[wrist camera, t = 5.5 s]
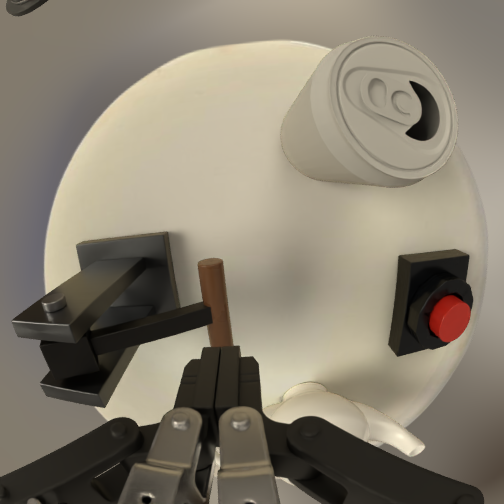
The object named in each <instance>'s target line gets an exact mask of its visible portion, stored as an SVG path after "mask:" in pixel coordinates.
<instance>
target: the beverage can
mask: <svg viewBox="0 0 504 504" xmlns="http://www.w3.org/2000/svg"><path fill="white" fill-rule="evenodd" d="M457 133H458V117H457V109H456V105H455V101H454V98H453V95H452V93H451V90H450V88H449V86H448V84H447V82H446V80H445V79H444V77H443V76H442V74H441V73H440V71H439V70H438V69H437V67H436V66H435V65H434V64H433V63H432V62H431V61H430V60H429V59H428V58H427V57H426V56H425V55H424V54H422V53H421V52H420V51H418V50H417V49H416V48H414V47H412V46H411V45H409V44H407V43H405V42H403V41H400V40H397V39H394V38H389V37H384V36H370V37H364V38H361V39H358V40H356V41H352V42H348V43H345V44H342V45H340V46H338V47H336V48H334V49H333V50H332V51H330V52H329V53H328V54H327V55H326V56H325V57H324V58H323V59H322V60H321V62H320V63H319V65H318V66H317V68H316V69H315V71H314V72H313V74H312V75H311V77H310V78H309V80H308V81H307V83H306V84H305V86H304V87H303V89H302V90H301V92H300V93H299V95H298V97H297V98H296V100H295V101H294V103H293V104H292V106H291V107H290V109H289V111H288V112H287V114H286V116H285V118H284V120H283V123H282V126H281V143H282V147H283V150H284V153H285V155H286V157H287V158H288V160H289V161H290V163H291V164H292V165H293V166H294V167H295V168H296V169H297V170H298V171H299V172H301V173H302V174H304V175H305V176H307V177H310V178H312V179H315V180H319V181H329V182H341V183H352V184H362V185H371V186H380V187H389V188H397V187H405V186H409V185H412V184H415V183H417V182H419V181H421V180H422V179H424V178H425V177H427V176H429V175H431V174H433V173H435V172H437V171H438V170H439V169H440V168H441V167H443V165H444V164H445V163H446V162H447V160H448V159H449V157H450V155H451V154H452V152H453V150H454V147H455V144H456V140H457Z"/></svg>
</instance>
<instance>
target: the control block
mask: <svg viewBox="0 0 504 504" xmlns="http://www.w3.org/2000/svg"><path fill="white" fill-rule="evenodd" d="M468 263H469V255H468V254H466V253H463V252H461V251H459V250H457V249H453V250H444V251H436V252H427V253H418V254H409V255H400V256H399V259H398V272H397V284H396V293H395V302H394V310H393V317H392V324H391V331H390V337H389V343H388V345H389V346H390V348H391V349H392V350H393V352H394V353H395V354H396V356H397V357H398V356H402V355H406V354H410V353H414V352H417V351H421V350H425V349H428V348H429V349H431V350H433V349H436V348H440V347H443V346H446V345H447V344H449V343H450V342H444V341H442V340H441V339H440V338H439V337H438V336H437V335H436V334H435V333H434V332H433V331H432V330H431V329H430V327H429V317H430V314H431V312H432V310H433V309H434V307H435V305H436V303H437V302H438V301H440V300H441V299H442V298H443V297H445V296H447V295H454V296H456V297H458V298H459V299H461V300H462V301H463V302H465V303H466V304H468V306H469V308H470V313H471V309H472V304H473V296H472V291H471V287H470V285H469V284H467V283H466V277H467V270H468Z"/></svg>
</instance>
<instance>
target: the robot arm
mask: <svg viewBox="0 0 504 504" xmlns="http://www.w3.org/2000/svg"><path fill="white" fill-rule="evenodd" d="M10 1H11V2H12V3H14V4H16V5H21V4H24V3H26V2H28V1H30V0H10ZM180 383H181V384H180V386H179V390H178V393H177V397H176V401H175V405H174V408H173V409H172V410H170V411H169V412H167V413H166V414H165V415H164V416H163V418H162V420H161V422H159V423H157V424H152V425H146V426H140V427H138V425H137V423H136V422H135V421H134V420H132V419H130V418H126V417H119V418H115V419H112V420H110V421H108V422H107V423H105V424H103V425H102V426H100V427H98V428H97V429H95V430H93V431H91V432H90V433H88V434H86V435H84V436H82V437H80V438H79V439H77V440H75V441H73V442H71V443H70V444H67V445H66V446H64V447H62V448H60V449H58V450H56V451H54V452H52V453H50V454H48V455H46V456H44V457H42V458H40V459H38V460H36V461H34V462H32V463H30V464H28V465H26V466H24V467H22V468H20V469H17V470H15V471H13V472H11V473H9V474H6V475H4V476H2V477H0V504H209V499H210V493H211V488H212V482H213V476H214V471H215V465H216V460H215V450H216V447H220V470H218V476H217V479H218V503H219V504H280V500H279V495H278V490H277V485H276V480H275V476H276V477H283V478H288V480H289V481H290V482H291V483H292V484H294V485H295V486H297V487H298V488H299V489H301V490H302V491H304V492H305V493H307V494H308V495H309V496H311V497H312V498H314V499H315V500H317V501H319V502H320V503H321V504H484V497H483V494H482V493H481V491H480V490H479V489H478V488H476V487H474V486H471V485H468V484H465V483H462V482H459V481H456V480H453V479H451V478H448V477H445V476H442V475H440V474H437V473H434V472H432V471H429V470H427V469H424V468H422V467H419V466H417V465H415V464H412V463H410V462H408V461H405V460H403V459H401V458H399V457H397V456H394V455H392V454H390V453H388V452H386V451H384V450H382V449H380V448H378V447H376V446H374V445H371V444H369V443H368V442H366V441H364V440H362V439H360V438H358V437H356V436H354V435H352V434H350V433H348V432H346V431H345V430H343V429H341V428H339V427H337V426H336V425H334V424H332V423H330V422H328V421H327V420H325V419H323V418H321V417H317V416H304V417H301V418H298V419H296V420H294V421H293V422H292V423H291V424H287V423H280V422H276V421H273V420H271V419H270V418H268V417H267V416H266V415H265V414H264V412H263V410H262V399H261V386H260V375H259V364H258V362H257V361H256V360H255V359H254V357H253V356H251V357H241V352H240V346H223V347H222V348H221V347H204V348H203V350H202V355H201V359H192V360H191V361H190V362H189V363H188V364H187V365H186V366H185V368H184V371H183V375H182V379H181V382H180ZM119 462H120V463H119ZM118 463H119V464H118ZM116 464H118V465H116ZM114 465H116V466H115V467H113V466H114ZM111 467H113V468H111ZM110 468H111V469H110ZM108 469H110V470H108ZM106 470H108V471H107V472H105V473H103V472H104V471H106ZM101 473H103V474H101ZM99 474H101V475H100V476H98V475H99ZM96 476H98V477H96ZM95 477H96V478H95Z"/></svg>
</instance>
